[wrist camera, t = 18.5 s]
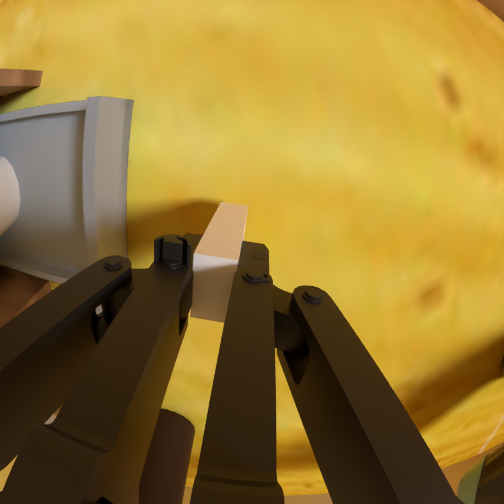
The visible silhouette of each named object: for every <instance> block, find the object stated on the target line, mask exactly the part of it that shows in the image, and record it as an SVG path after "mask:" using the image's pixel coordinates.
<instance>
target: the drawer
mask: <svg viewBox="0 0 504 504" xmlns="http://www.w3.org/2000/svg"><path fill="white" fill-rule="evenodd" d="M133 101H134V100H130V99H122V98H113V97H102V96H97V97H88V98H87V100H83V101H73V102H65V103H57V104H50V105H44V106H38V107H32V108H27V109H22V110H17V111H13V112H8V113H4V114H0V157H4V158H6V159H7V161H8V162H9V163H10V164H11V166H12V167H13V169H14V172H15V175H16V177H17V180H18V183H19V193H20V207H19V214H18V217H17V218H16V220H15V222H14V224H13V225H12V226H10V227H9V229H8V230H7V231H5V232H4V233H3V234H2V235H1V236H0V265H3V266H6V267H9V268H12V269H15V270H18V271H21V272H24V273H27V274H30V275H33V276H37V277H40V278H43V279H46V280H50V281H53V282H56V283H60V284H62V283H64V282H65V281H67V280H69V279H70V278H72V277H73V276H75V275H76V274H78V273H79V272H81V271H82V270H84V269H86V268H87V267H89V266H90V265H92V264H93V263H95V262H97V261H98V260H100V259H102V258H104V257H108V256H111V255H115V256H116V255H119V256H122V257H125V258H127V234H126V190H127V165H128V149H129V137H130V127H131V117H132V109H133ZM101 312H102V307H101V305H99V306H98V307H97V308H96V313H97V314H99V313H101Z"/></svg>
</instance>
